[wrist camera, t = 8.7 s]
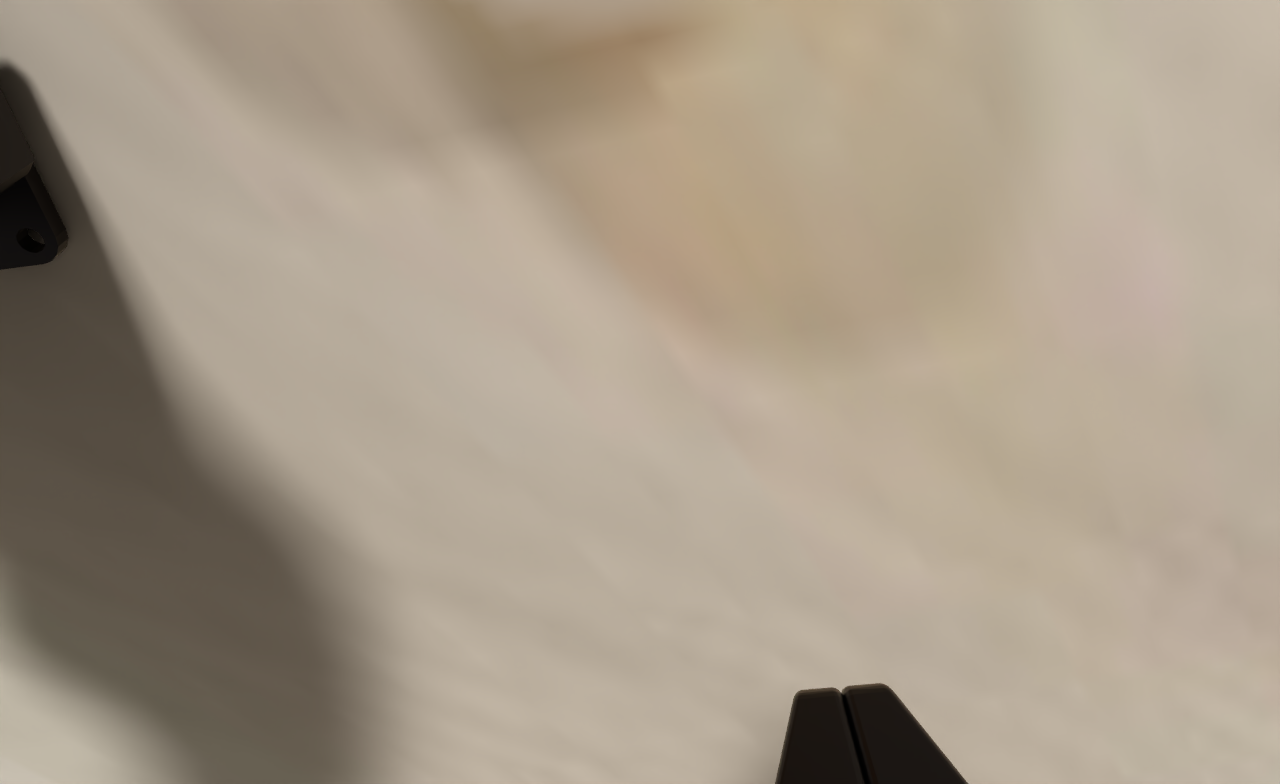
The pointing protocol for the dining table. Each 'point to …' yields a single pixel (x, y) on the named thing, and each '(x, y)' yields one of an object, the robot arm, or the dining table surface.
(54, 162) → the dining table surface
